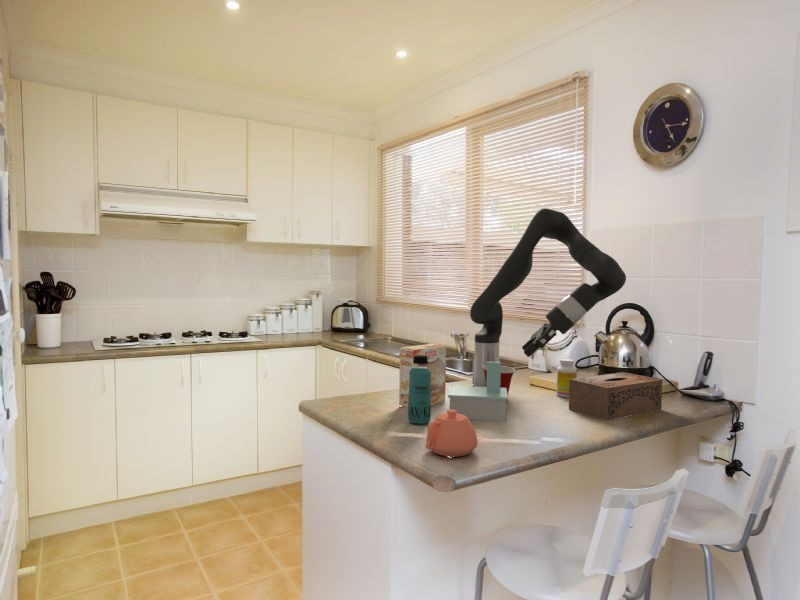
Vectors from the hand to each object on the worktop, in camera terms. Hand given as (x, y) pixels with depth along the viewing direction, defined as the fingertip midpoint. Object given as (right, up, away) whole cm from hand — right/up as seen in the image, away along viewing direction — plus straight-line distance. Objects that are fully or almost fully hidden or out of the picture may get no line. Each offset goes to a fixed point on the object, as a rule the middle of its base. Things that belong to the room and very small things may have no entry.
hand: (524, 352), depth 155 cm
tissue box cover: (+32, -20, +13) cm, 40 cm away
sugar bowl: (-25, -22, -28) cm, 43 cm away
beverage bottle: (-31, -20, -6) cm, 38 cm away
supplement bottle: (+22, -19, +31) cm, 43 cm away
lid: (-13, -13, +3) cm, 19 cm away
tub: (-13, -20, +3) cm, 24 cm away
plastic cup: (-4, -19, +22) cm, 29 cm away
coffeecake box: (-29, -19, +17) cm, 39 cm away
